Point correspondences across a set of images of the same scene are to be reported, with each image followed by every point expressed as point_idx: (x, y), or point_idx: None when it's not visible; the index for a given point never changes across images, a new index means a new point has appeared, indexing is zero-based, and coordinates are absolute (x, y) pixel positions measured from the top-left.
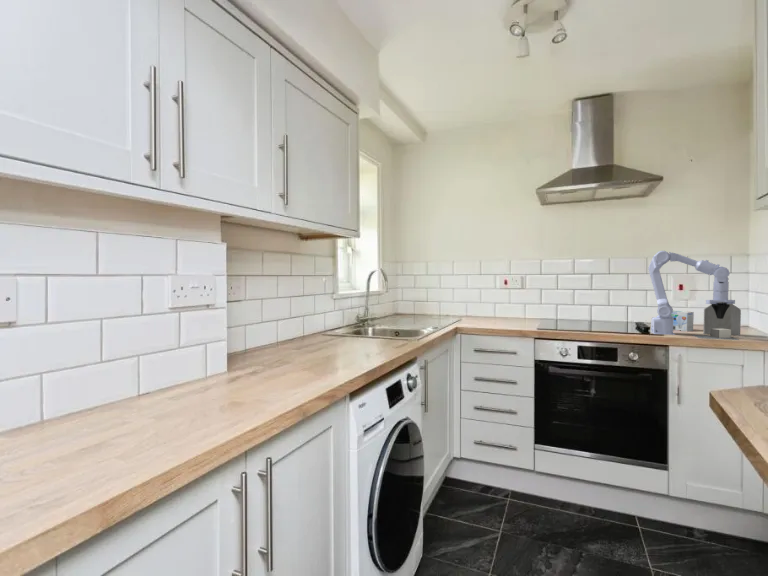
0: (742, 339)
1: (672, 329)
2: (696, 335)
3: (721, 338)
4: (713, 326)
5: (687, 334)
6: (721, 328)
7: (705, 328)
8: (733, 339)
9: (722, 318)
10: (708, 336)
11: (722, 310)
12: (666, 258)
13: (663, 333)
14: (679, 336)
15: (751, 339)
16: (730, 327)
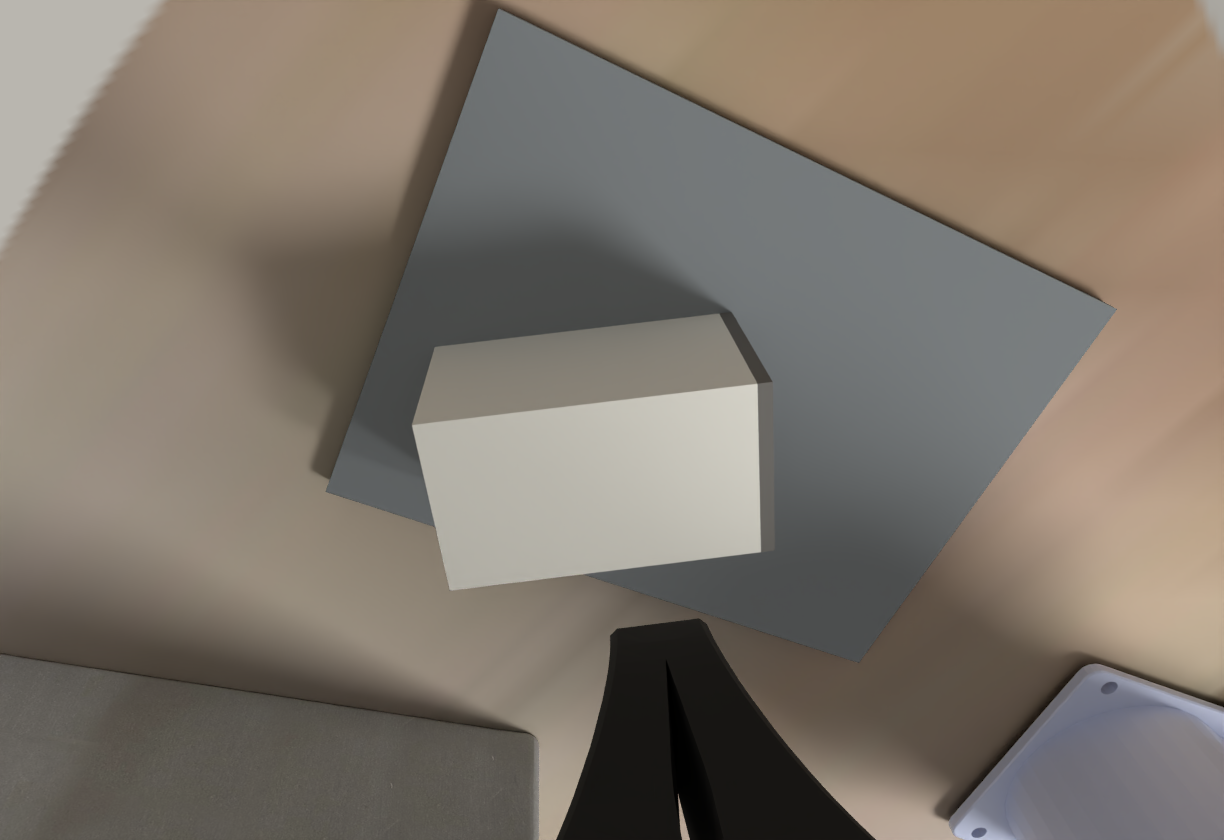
0: (260, 246)
1: (1130, 780)
2: (838, 599)
3: (728, 252)
4: None
5: None
6: (243, 799)
7: (520, 826)
8: (598, 102)
9: (645, 630)
10: None
11: (786, 837)
12: None
13: (1213, 730)
14: (1106, 592)
15: (56, 240)
16: (65, 798)
